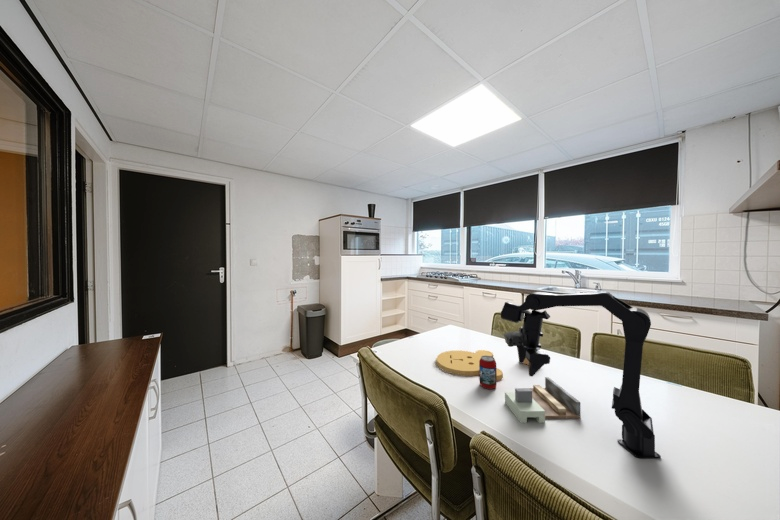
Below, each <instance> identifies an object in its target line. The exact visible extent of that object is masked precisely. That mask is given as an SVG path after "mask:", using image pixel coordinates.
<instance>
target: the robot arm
mask: <svg viewBox="0 0 780 520" xmlns="http://www.w3.org/2000/svg"><path fill="white" fill-rule="evenodd" d="M593 306H594V307H599V306H600V307H602V308H604V309H605V310H607V311H608V312H609V313H611V315H613V316H614V317H616V318H617V319H619V321H621V322H622V329H623V335H624V340H625V342H624V343H625V344H624V354H623V355H624V357H623V368H622V379H621V381H622V382H621V385H620V387H619V388H618V387H615V386H613V392H612V402H611V409H612V410H614V414H615V416H616V417H617V418H618V420H619V421H621V422H622V424H621V439H617V441H616V442H618V443H619V444H620V445H621V446H622V447H624V449H626V450H627V451H628V452H630V453H631V454H632V455H633V456H634V457H635V458H637V459H661V457H662V456H661V455H660V454H659V453H658V452H656V447H655V446H656V443H655V442H656V441H655V440H656V439H655V438H656V436H655V433H654V425H653V418H652V417H651V416H650V415H649V414H648V413H647V412H646V411H645V410H644V409H643V408H642V401H641V396H640V395H641V394H640V384H641V383H640V382H641V375H642V374H641V371H642V362H643V361H642V359H643V351H644V350H643V348H644V343H645V341H646V339H647V337H648V334H649V331H650V329H651V326H652V321H651V317H650V315H649V313H648V312H646V311H645V310H644V309H642V308H639V307H633V306H631V305H630V304H628V303H626V302H625V301H623V300H622V299H620V298H617V297H615V296H614V295H613V294H611V293H610V292H608V291H600V292H580V293H560V294H559V293H550V292H545V291H544V292H543V291H535V292H534V291H533V292H531V293H529V294H527V296H526V297H525V298H524V302H522V303H521V304H517V303H512V302H509V301H505V302H504V304H503V306H502V309H501V311H500V318H501V320H505V321H507V322H511V323H514V324H519V323H521V322H523V323H522V326H520V327H519V329H518V330H517V331H516V330H514V331H509V332H506V333H505V332H504V333H503V336H504V337H503V338H504V341H505V343H506V344H507V346H508V347H516V349H517V356H518V362H519V364H524V363H523V361H524V360H525V358H526V359H527V360H528V361H529V366H528V376H529V377H533V376H534V375H536V374H537V372H538V371H539V370H540V369H541V368H542V367H543V366H544V365H549V364H550V362H551V357H550V355H549V354H548V353H547V352H545V350H544V349H542V343H540V339H541V337H544V333H543V332H542V328H543V320H549V319H550V318H551V315H550V314H549V313H548V312H547V309H550V308H556V307H593ZM540 310H543V311H540ZM536 348H540V350H539V349H536Z"/></svg>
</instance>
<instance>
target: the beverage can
mask: <svg viewBox="0 0 780 520" xmlns="http://www.w3.org/2000/svg"><path fill="white" fill-rule="evenodd" d="M496 368H497V362H496V359H495V357H494V356H493V357H491V356H482V357H481V359H480V361H479V373H480V375H479V385H480V386H481V387H483V388H484V389H488V390H493V389H494V388H496V387H497V373H496Z"/></svg>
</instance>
